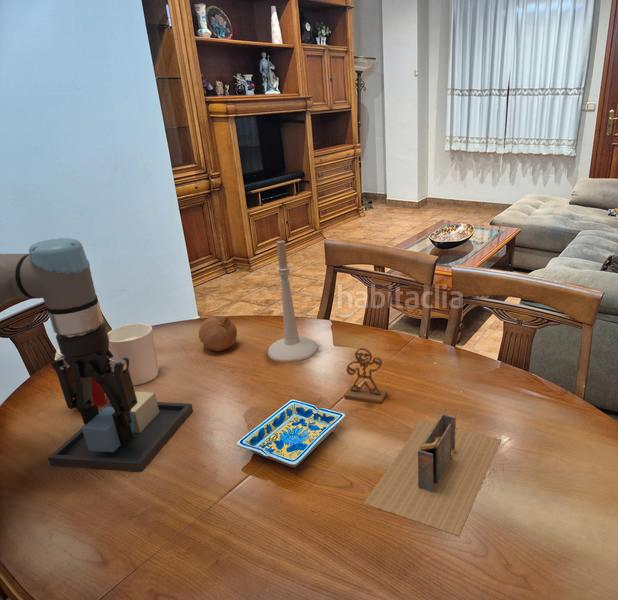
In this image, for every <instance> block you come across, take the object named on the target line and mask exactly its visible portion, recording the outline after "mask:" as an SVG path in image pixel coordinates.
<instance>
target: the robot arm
mask: <svg viewBox="0 0 618 600" xmlns="http://www.w3.org/2000/svg"><path fill="white" fill-rule="evenodd" d="M90 264H91V263H90V261H89V260H88V258H87V254H86V251H85V249H84V247H83V244H82V243H81V242H80V241H79V240H78V239H75V238H70V237H59V238H50V239H45V240H41V241H38V242H34V243H33V244H32V245H30V246H29V249H28V253H0V307H2V306H4V305H6V304H8V303H9V302H12V301H15V300H27V299H28V300H29V299H31V300H32V299H43V302H44V305H45V308H46V311H47V313H48V316H49V320H50V324H51V327H52V330H53V333H54V334H56V335H55V339H56V342H57V346H58V349H60V352H61V354H62V355H64V356H61V357H60V358H58V359H57V360H55V359H54V361H52V362H51V363H50V366H51V368H53V370H54V372H55V373H56V375H57V378H58V381H59V385H60V388H61V391H62V394H63V397H64V401H65V404H66V407H67V408H68V409H69V410H73V409H76V410H77V412H79V413H80V416H81V419H82V422H83V424H84V425H86V424H87V423H89V422H90V421H91V420H92V419H93V418H94V417H95V416H97V415H98V414H99V412H100V410H99V408H98V407H97V405H93V406H92V407H91V405H92V404H93V403H94V402H95V401H93V400H92V379H91V377H93V378H94V380H95V381H96V383H97V384H100V385H101V387H102V389H103V391H104V393H105V397H106V398H107V400H108V402H109V403H111V405H112V407H113V409H114V410H115V412H114V413H113V414H112V417H113V420H114V423H115V427H116V430H117V433H118V437H119V440H120V444H125V443H126V442H127V441H128V440H129V439H130V437H131V436H132V435H133V434H132V431H131V427H130V424H131V422H132V420H131V416H130V412H129V411H130V410H131V409H132V408H133V407H134V406H135V405H136V404H137V398H136V395H135V392H136V391H135V388H134V385H133V384H132V380H131V376H130V373H129V359H128V358H123V359H122V360H121V359H118V358H115V357H113V354H112V353H111V352H110V349H109V337H108V334H107V333H108V331H107V327H106V325H105V323H104V317H103V313H102V309H101V306H100V302H99V299H98V295H97V293H96V288H95V285H94V281H93V277H92V272H91V265H90ZM73 398H74V400H73Z"/></svg>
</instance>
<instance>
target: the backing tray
mask: <svg viewBox="0 0 618 600" xmlns="http://www.w3.org/2000/svg"><path fill="white" fill-rule="evenodd" d="M157 404H158V408H159V414H158V415H157V416H156V417H155V418H154V419H153V420H152V421H151V422H150V423H149V424H148V425H147V426H146V427H145V428H144V429H143V430H142V432H141V433H136V432H133V433H132V434H133V435H132V436H131V437H130V439H129V440H128V441H127V442H126V443H125V444H121V445H120V446H119V447H118V448H117V449H116V450H115V451H114V452H100V451H89V450H88V447H87V444H86V441H85V437H84V434H83V431H82V428H83V427H84V426H85V424H84V425H83V426H82V427H81V428H80V429H78V430H77V431H76V432H75V433H74V434H73V435H72V436H70V437H69V439H67V440H66V441H65V442H64V443H63V444H62V445H60V446H59V447H58V448H57V449H56V450H55V451H53V452H52V453H51V454H50V455H49V456H48V457H47V459H48V462H49V465H50V466H51V467H52V466H53V467H69V468H81V469H82V468H84V469H98V470H114V471H125V472H126V471H129V472H143V470H144V469H145V468H146V467H147V466H148V465H149V464H150V462H151V461H152V460H153V459H154V457H156V455H157V454H158V453H159V452H160V451H161V449H162V448H163V447H164V446H165V445H166V444H167V442H168V441H169V440H170V439H171V438H172V436H173V435H174V434H175V433H176V432H177V430H179V428H180V427H181V426H182V425H183V423H184V422H185V421H186V420H187V419H188V417H189V416H190V415H191V414H192V412H194V409H193V404H192V403H183V402H164V401H163V402H162V401H157ZM106 407H112V405H111V403H110V402H109V403H108V404H107V405H106V406H105V407H104V408H106ZM104 408H102V409H101V410H99V413H100V412H101V411H102V410H103V409H104Z"/></svg>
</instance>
